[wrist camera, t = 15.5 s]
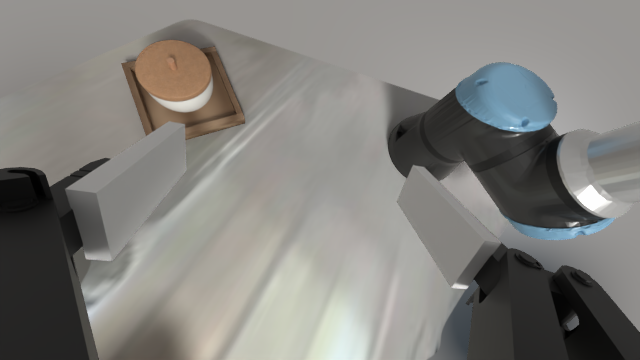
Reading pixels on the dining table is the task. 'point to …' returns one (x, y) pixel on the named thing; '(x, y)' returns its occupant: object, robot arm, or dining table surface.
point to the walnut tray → (203, 121)
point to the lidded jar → (175, 75)
